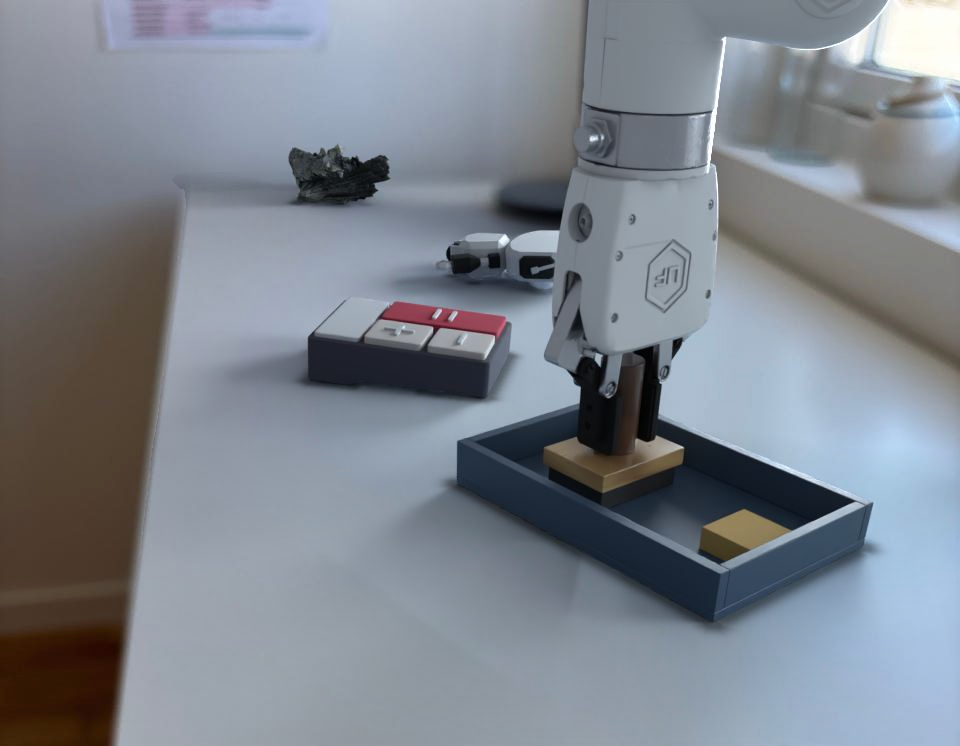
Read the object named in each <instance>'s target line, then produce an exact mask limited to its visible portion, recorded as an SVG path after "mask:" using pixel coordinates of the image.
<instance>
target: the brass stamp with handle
mask: <svg viewBox="0 0 960 746" xmlns="http://www.w3.org/2000/svg"><path fill="white" fill-rule="evenodd" d="M602 357H603V355H601V357H600V364H599V366H600V367H601V364H602ZM644 369H645V359H644V358H643V357H641V356H639V355H636V354H633V353H624V354H622V360H621V367H620V373H619V380H618V387H617V391H616V394H618V395H621V396H623V405H622V415H621V425H620V435H619V445H618V450H617V452H616V454H613V455H610V456H606V455H604V454H602V453H600V452H598V451H596V450H594V449H591V448H589V447H587V446H585V445H583V444H581V443H579V442H578V440H577V437H575V438H571V439H568V440H565V441H562V442H559V443H556V444H553V445H550V446H547V447H544V454H543V464H544V465H546V466H548V467H549V477H548V479H549V480H551V481H553V482H555V483H557V484H559V485H561V486H563V487H565V488H567V489H569V490H571V491H573V492H575V493H577V494H579V495H581V496H583V497H585V498H587V499H589V500H591V501H593V502H595V503H597V504H599V505H601V506H603V507H605V508H607V509H608V508H611V507H613V506H616V505H619V504H621V503H624V502H626V501H629V500H632V499H634V498H637V497H640V496H642V495H645V494H647V493H650V492H653V491H655V490H658V489H661V488H663V487H666V486H669V485H671V484H673V481H674V473H675V466H678V465H680V464H682V462H683V455H684V447H682V446H679V445H677V444H675V443H673V442H670V441H668V440H666V439H663V438H661V437H659V436H657V435H656V438H655V440H653V441H650V442H644V441H642V440H639V439H637V433H638V424H639V415H640V406H641V397H642V388H643V379H644Z"/></svg>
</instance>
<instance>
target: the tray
mask: <svg viewBox="0 0 960 746" xmlns="http://www.w3.org/2000/svg"><path fill="white" fill-rule="evenodd" d="M579 403H580V402H578V403H575V404H573V405H569V406H565V407H562V408H559V409H556V410H553V411H549V412H546V413H542V414H540V415H537V416H532V417H529V418H526V419H523V420H520V421H516V422H513V423H510V424H507V425H504V426H501V427H497V428H494V429H491V430H488V431H484V432H481V433H478V434H474V435H472V436H467V437H464V438H461V439H458V440H456V483H457V484H458V485H460V486H461V487H464V488H466V489H468V490H469V491H470V492H473V493H475V494H476V495H478V496H480V497H482V498H484V499H486V500H487V501H490V502H491V503H493V504H495V505H497V506H499V507H500V508H502V509H504V510H505V511H507V512H510V513H511V514H513V515H515V516H517V517H518V518H521V519H522V520H524V521H526V522H528V523H529V524H532V525H533V526H535V527H537V528H539V529H540V530H543V531H544V532H547V533H548V534H550V535H552V536H554V537H556V538H557V539H559V540H561V541H563V542H565V543H566V544H568V545H570V546H572V547H573V548H575V549H578V550H579V551H581V552H582V553H585V554H587V555H588V556H590V557H592V558H594V559H596V560H597V561H599V562H601V563H603V564H605V565H606V566H609V567H611V568H612V569H614V570H616V571H618V572H620V573H621V574H623V575H625V576H627V577H629V578H631V579H633V580H635V581H636V582H638V583H640V584H642V585H644V586H645V587H647V588H649V589H651V590H653V591H655V592H656V593H659V594H660V595H661V596H664V597H665V598H668V599H669V600H670V601H673V602H675V603H676V604H678V605H680V606H682V607H683V608H686V609H688V610H689V611H690V612H691V611H692V612H693V613H695V614H697V615H699V616H700V617H702V618H704V619H706V620H708V621H709V622H711V623H714V622H716V621H718V620H720V619H722V618H724V617H726V616H727V615H730V614H732V613H734V612H736V611H737V610H739V609H742V608H744V607H746V606H748V605H750V604H751V603H754V602H755V601H758V600H760V599H762V598H763V597H765V596H768V595H770V594H771V593H774V592H775V591H777V590H779V589H781V588H783V587H786V586H788V585H790V584H792V583H793V582H795V581H797V580H800V579H801V578H803V577H805V576H807V575H809V574H811V573H813V572H815V571H817V570H819V569H821V568H823V567H825V566H827V565H829V564H831V563H833V562H835V561H837V560H839V559H841V558H843V557H844V556H845V557H846V556H847V555H849V554H852V553H853V552H855V551H857V550H859V549H860V548H863V547H864V545H865V540H866V537H867V536H866V535H867V531H868V528H869V523H870V519H871V515H872V511H873V508H874V501H871V500H869V499H866V498H864V497H862V496H860V495H857V494H854V493H852V492H849V491H847V490H845V489H843V488H840V487H837V486H835V485H832V484H830V483H827V482H825V481H822V480H820V479H818V478H816V477H813V476H811V475H809V474H806V473H804V472H801V471H799V470H796V469H794V468H791V467H788V466H786V465H785V464H784V465H783V464H781V463H779V462H776V461H774V460H772V459H769V458H767V457H764V456H762V455H759V454H757V453H755V452H752V451H749V450H748V449H745V448H742V447H740V446H737V445H735V444H733V443H730V442H728V441H726V440H723V439H721V438H718V437H716V436H713V435H711V434H708V433H706V432H704V431H702V430H699V429H696V428H694V427H692V426H689V425H686V424H685V423H682V422H679V421H677V420H675V419H672V418H669V417H667V416H664V415H662V414H660V413H659V414H658V422H657V431H656V435H657V436H659V437H661V438H663V439H666V440H668V441H670V442H673V443H675V444H677V445H679V446H682V447H684V455H683V462H682V464H680V465H678V466H675V473H674V481H673V484H671V485H669V486H666V487H663V488H661V489H658V490H655V491H653V492H650V493H647V494H645V495H642V496H640V497H637V498H634V499H632V500H629V501H626V502H624V503H621V504H619V505H616V506H613V507H611V508H608V509H607V508H605V507H603V506H601V505H599V504H597V503H595V502H593V501H591V500H589V499H587V498H585V497H583V496H581V495H579V494H577V493H575V492H573V491H571V490H569V489H567V488H565V487H563V486H561V485H559V484H557V483H555V482H553V481H551V480H549V479H548V477H549V467H548V466H546V465H544V464H543V454H544V447H547V446H550V445H553V444H556V443H559V442H562V441H565V440H568V439H571V438H575V437H577V429H578V416H579ZM743 509H745V510H747V511H750V512H752V513H754V514H756V515H758V516H761V517H763V518H765V519H767V520H769V521H772V522H774V523H776V524H778V525H780V526H783V527H785V528H787V529H789V530H791V532H789V533H787V534H785V535H782V536H780V537H778V538H776V539H774V540H772V541H769V542H767V543H765V544H763V545H761V546H759V547H756V548H754V549H752V550H750V551H748V552H746V553H744V554H741V555H739V556H737V557H735V558H733V559H731V560H728V561H724V560H722V559H720V558H717V557H715V556H713V555H711V554H709V553H707V552H705V551H703V550H701V549H700V548H699V546H700V539H701V533H702V527H703V526H706V525H708V524H710V523H713V522H715V521H717V520H720V519H722V518H724V517H727V516H729V515H731V514H734V513H736V512H738V511H741V510H743Z"/></svg>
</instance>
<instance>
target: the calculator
mask: <svg viewBox="0 0 960 746" xmlns="http://www.w3.org/2000/svg"><path fill="white" fill-rule="evenodd" d="M512 324H513V323H512V322H511V321H508V320H507V317H506V316H505V315H499V314H492V313H485V312H484V313H483V312H476V311H470V310H464V309H463V310H462V309H456V308H447V307H442V306H433V305H427V304H419V303H411V302H404V301H394V302H393V303H392V304H390V303H389V302H388V301H381V300H376V299H375V300H374V299H367V298H359V297H353V296H351V297H348V298H347V299H344V300H343V302H341V303H340V304H339V305H338V306H337V307H336V308H335V309H334V310H333V311H332V312H331V313H330V314H329V315H327V317H326V318H325V319H324V320H323V321H322V322H321V323H320V324H319V325H318V326H317V327H316V328H315V329H313V331H312V332H311V333H309V335H308V336H307V378H308V379H310V380H311V381H317V382H318V381H319V382H326V383H331V384H340V385H344V386H345V385H346V386H353V385H354V384H356V383H359V382H360V381H366V382H373V383H380V384H386V385H393V386H400V387H408V388H414V389H419V390H427V391H433V392H441V393H447V394H454V395H461V396H468V397H474V398H480V399H481V398H482V399H483V398H484V399H485V398H487V397H488V396H489V394H490V392H491V390H492V389H493V387H494V384H495V383H496V381H497V378H498V377H499V375H500V373H501V371H502V369H503V367H504V365H505V364H506V362H507V360H508V358H509V355H510V348H511V339H512V328H513V327H512V326H513V325H512Z"/></svg>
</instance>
